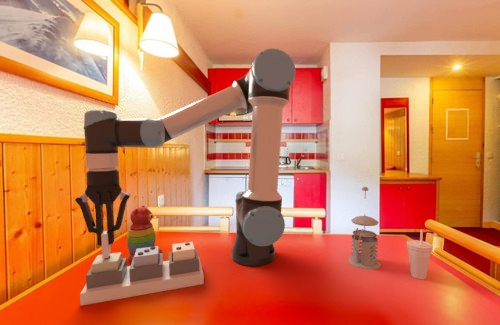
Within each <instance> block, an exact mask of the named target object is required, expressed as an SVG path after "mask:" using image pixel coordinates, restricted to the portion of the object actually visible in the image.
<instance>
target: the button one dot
mask: <svg viewBox="0 0 500 325" xmlns="http://www.w3.org/2000/svg"><path fill="white" fill-rule="evenodd" d="M122 258H123V256H122V252H112V253H111V254H110V256H109V258H102V254H98V255H97V256H96V257H95V259H94V260H93V262H92V263H91V267H92V273H98V272H105V271H112V270H119V268H120V266H121V263H122Z"/></svg>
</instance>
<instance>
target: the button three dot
mask: <svg viewBox="0 0 500 325" xmlns="http://www.w3.org/2000/svg"><path fill="white" fill-rule="evenodd" d="M159 248H160V247H159V245H156V246H154V247H146V248H138V249H136V252H135V255H134V267H140V266H147V265H154V264H159Z"/></svg>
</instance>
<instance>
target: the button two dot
mask: <svg viewBox="0 0 500 325" xmlns="http://www.w3.org/2000/svg"><path fill="white" fill-rule="evenodd" d="M172 252H173V262H174V261H181V260H188V259H195V246H194V242H193V241H188V242H179V243H172Z"/></svg>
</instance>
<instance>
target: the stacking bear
mask: <svg viewBox="0 0 500 325" xmlns="http://www.w3.org/2000/svg"><path fill="white" fill-rule="evenodd" d="M153 217H154V215H153V212H152V211H151V210H150V209H149V208H148V207H145V205H142V206H140V207H135V208H134V209H132V211H131V213H130V216H129V218H130V221H131V223H132V224H131V225H130V226H129V228H128V231H127V236H126V245H127V247H128V252H129V254H128V257H127V260H128V261H129V262H131V263H132V259H133V257H134V255H135V252H136V249H138V248H146V247H154V246H155V245H156V244H155V243H156V236H157V235H156V231H155V229H154V225H153V223H152V222H151V221H152V220H153ZM159 253H163V250H162V249H161V247H159Z"/></svg>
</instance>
